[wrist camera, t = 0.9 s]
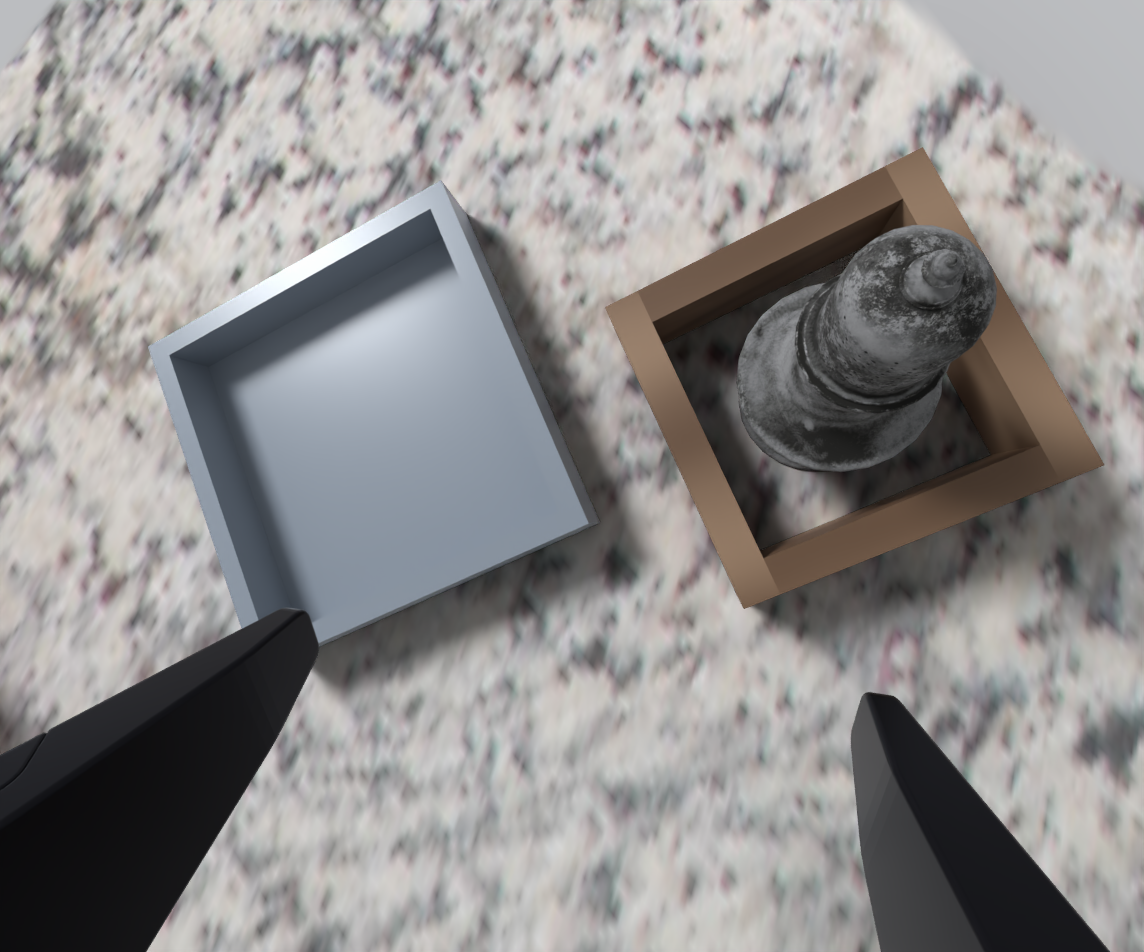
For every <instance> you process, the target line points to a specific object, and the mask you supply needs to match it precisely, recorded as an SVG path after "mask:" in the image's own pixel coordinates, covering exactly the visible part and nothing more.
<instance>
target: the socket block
mask: <svg viewBox="0 0 1144 952" xmlns="http://www.w3.org/2000/svg"><path fill="white" fill-rule="evenodd" d="M911 225H933V226H937V227H941V228H945V229H949V230H952V231H954V232H956V233H958V234H960V235H961V236H963V237H965V238H967V239H969V240H970V241H971V242H972V243H973V244H974V245H975V246H976V247H977V248H978V249H979V250H980V251H981V252H982V250H981V248H980V246H979V245H978V243H977V241H976V239H975V238H974V236H973V234H972V232H971V231H970V229H969V227H968V225H967V224H966V222H965V220H964V218H963V217H962V215H961V213H960V211H959V210H958V208H957V206H956V204H955V203H954V201H953V199H952V197H951V196H950V194H949V192H948V191H947V189H946V187H945V185H944V184H943V182H942V180H941V178H940V177H939V175H938V173H937V171H936V170H935V168H934V166H933V164H932V163H931V161H930V159H929V157H928V156H927V154H926V152H925V150H924V149H923V147H922V148H920V149H918V150H916V151H914V152H912V153H910V154H908V155H906V156H905V157H903V158H901V159H899V160H897V161H895V162H893V163H891V164H889V165H887V166H885V167H883V168H881V169H879V170H877V171H875V172H873V173H871V174H869V175H867V176H865V177H863V178H861V179H859V180H857V181H855V182H853V183H851V184H849V185H847V186H845V187H843V188H841V189H839V190H837V191H835V192H833V193H831V194H829V195H827V196H825V197H823V198H821V199H819V200H817V201H815V202H813V203H811V204H809V205H807V206H805V207H803V208H801V209H799V210H797V211H795V212H793V213H791V214H789V215H787V216H785V217H783V218H781V219H779V220H777V221H776V222H774V223H772V224H770V225H768V226H766V227H764V228H762V229H760V230H758V231H756V232H754V233H752V234H750V235H748V236H746V237H744V238H742V239H740V240H738V241H736V242H734V243H732V244H730V245H728V246H726V247H724V248H722V249H720V250H718V251H716V252H714V253H712V254H710V255H708V256H706V257H704V258H702V259H700V260H698V261H696V262H694V263H692V264H690V265H688V266H686V267H684V268H682V269H680V270H678V271H676V272H674V273H672V274H670V275H668V276H666V277H664V278H662V279H660V280H658V281H656V282H654V283H652V284H650V285H648V286H646V287H645V288H643V289H641V290H639V291H637V292H635V293H633V294H631V295H629V296H627V297H625V298H623V299H621V300H619V301H617V302H615V303H613V304H611V305H609V306H607V307H605V308H606V310H607V313H608V315H609V317H610V320H611V322H612V324H613V326H614V329H615V331H616V333H617V335H618V338H619V340H620V342H621V344H622V346H623V349H624V351H625V353H626V355H627V357H628V359H629V362H630V364H631V366H632V368H633V370H634V372H635V375H636V377H637V379H638V381H639V383H640V385H641V388H642V390H643V392H644V394H645V396H646V399H647V401H648V403H649V405H650V407H651V409H652V412H653V414H654V416H655V418H656V420H657V422H658V425H659V427H660V429H661V431H662V433H663V435H664V438H665V440H666V442H667V444H668V446H669V449H670V451H671V453H672V455H673V457H674V459H675V462H676V464H677V466H678V468H679V470H680V472H681V475H682V477H683V479H684V481H685V483H686V485H687V488H688V490H689V492H690V494H691V496H692V499H693V501H694V503H695V505H696V507H697V509H698V512H699V514H700V516H701V518H702V520H703V522H704V525H705V527H706V529H707V531H708V533H709V535H710V538H711V540H712V542H713V544H714V546H715V549H716V551H717V553H718V555H719V557H720V559H721V562H722V564H723V566H724V568H725V570H726V572H727V575H728V577H729V579H730V581H731V583H732V585H733V588H734V590H735V592H736V594H737V596H738V598H739V600H740V602H741V604H742V606H743V608H744V609H745V608H748V607H750V606H753V605H755V604H758V603H760V602H763V601H765V600H768V599H770V598H773V597H775V596H778V595H780V594H783V593H785V592H788V591H790V590H793V589H795V588H798V587H800V586H803V585H805V584H808V583H810V582H813V581H815V580H818V579H820V578H823V577H825V576H828V575H830V574H833V573H835V572H838V571H840V570H843V569H845V568H848V567H850V566H853V565H855V564H858V563H860V562H863V561H865V560H868V559H870V558H873V557H875V556H878V555H880V554H883V553H885V552H888V551H890V550H893V549H895V548H898V547H900V546H903V545H905V544H908V543H910V542H913V541H915V540H918V539H920V538H923V537H925V536H928V535H931V534H933V533H936V532H938V531H941V530H943V529H946V528H948V527H951V526H953V525H956V524H958V523H961V522H963V521H966V520H968V519H971V518H973V517H976V516H978V515H981V514H983V513H986V512H988V511H991V510H993V509H996V508H998V507H1001V506H1003V505H1006V504H1008V503H1011V502H1013V501H1016V500H1018V499H1021V498H1023V497H1026V496H1028V495H1031V494H1033V493H1036V492H1038V491H1041V490H1043V489H1046V488H1048V487H1051V486H1053V485H1056V484H1058V483H1061V482H1063V481H1066V480H1068V479H1071V478H1073V477H1076V476H1078V475H1081V474H1083V473H1086V472H1088V471H1091V470H1093V469H1096V468H1098V467H1101V466H1103V465H1104V463H1103V462H1102V460H1101V458H1100V456H1099V455H1098V453H1097V451H1096V449H1095V448H1094V446H1093V444H1092V442H1091V441H1090V439H1089V437H1088V435H1087V434H1086V432H1085V430H1084V428H1083V427H1082V425H1081V423H1080V421H1079V420H1078V418H1077V416H1076V414H1075V413H1074V411H1073V409H1072V407H1071V406H1070V404H1069V402H1068V400H1067V399H1066V397H1065V395H1064V393H1063V392H1062V390H1061V388H1060V386H1059V385H1058V383H1057V381H1056V379H1055V378H1054V376H1053V374H1052V372H1051V371H1050V369H1049V367H1048V365H1047V364H1046V362H1045V360H1044V358H1043V357H1042V355H1041V353H1040V351H1039V350H1038V348H1037V346H1036V344H1035V343H1034V341H1033V339H1032V337H1031V336H1030V334H1029V332H1028V330H1027V329H1026V327H1025V325H1024V323H1023V322H1022V320H1021V318H1020V316H1019V315H1018V313H1017V311H1016V309H1015V308H1014V306H1013V304H1012V302H1011V301H1010V299H1009V297H1008V295H1007V294H1006V292H1005V290H1004V288H1003V287H1002V285H1001V283H1000V281H999V280H998V278H997V276H996V274H995V273H994V271H993V273H994V277H995V282H996V286H997V294H996V307H995V309H994V312H993V315H992V318H991V320H990V323H989V325H988V326H987V328H986V330H985V331H984V332H983V334H982V335H981V336H980V338H979V339H978V340H977V342H976V343H975V345H974V346H973V347H971V348H970V349H969V350H968V351H966V352H965V353H964V354H962V355H961V356H960V357H959V358H957V359H956V360H954V361H952V362H951V363H950V365H949V368H948V370H947V372H946V373H947V375H948V377H949V379H950V381H951V383H952V384H953V386H954V388H955V390H956V392H957V394H958V396H959V397H960V399H961V401H962V403H963V405H964V407H965V408H966V410H967V412H968V414H969V416H970V418H971V419H972V421H973V423H974V425H975V427H976V429H977V430H978V432H979V434H980V436H981V438H982V440H983V442H984V443H985V445H986V447H987V449H988V451H989V453H990V454H991V455H990V456H987V457H985V458H982V459H980V460H978V461H975V462H973V463H970V464H968V465H965V466H963V467H961V468H958V469H956V470H953V471H951V472H949V473H946V474H944V475H941V476H939V477H936V478H934V479H932V480H929V481H927V482H924V483H922V484H920V485H917V486H915V487H912V488H910V489H907V490H905V491H903V492H900V493H898V494H895V495H893V496H891V497H888V498H886V499H883V500H881V501H879V502H876V503H874V504H871V505H869V506H866V507H864V508H862V509H859V510H857V511H854V512H852V513H850V514H847V515H845V516H842V517H840V518H837V519H835V520H833V521H830V522H828V523H825V524H823V525H821V526H818V527H816V528H813V529H811V530H808V531H806V532H804V533H801V534H799V535H796V536H794V537H792V538H789V539H787V540H784V541H782V542H779V543H777V544H775V545H772V546H770V547H767V548H765V549H763V550H759V548H758V546H757V544H756V542H755V540H754V537H753V535H752V533H751V531H750V529H749V527H748V525H747V523H746V520H745V518H744V516H743V514H742V512H741V510H740V508H739V506H738V503H737V501H736V499H735V497H734V495H733V493H732V491H731V489H730V487H729V484H728V482H727V480H726V478H725V476H724V474H723V472H722V470H721V467H720V465H719V463H718V461H717V459H716V457H715V455H714V453H713V450H712V448H711V446H710V444H709V442H708V440H707V438H706V436H705V433H704V431H703V429H702V427H701V425H700V423H699V421H698V419H697V416H696V414H695V412H694V410H693V408H692V406H691V404H690V402H689V399H688V397H687V395H686V393H685V391H684V389H683V387H682V385H681V382H680V380H679V378H678V376H677V374H676V372H675V370H674V368H673V365H672V363H671V361H670V359H669V357H668V355H667V353H666V351H665V349H664V346H663V344H665V343H667V342H669V341H671V340H673V339H675V338H677V337H679V336H681V335H683V334H685V333H688V332H690V331H692V330H694V329H696V328H698V327H700V326H702V325H704V324H706V323H708V322H710V321H712V320H714V319H716V318H718V317H721V316H723V315H725V314H727V313H729V312H731V311H733V310H735V309H737V308H739V307H741V306H743V305H745V304H747V303H749V302H751V301H754V300H756V299H758V298H760V297H762V296H764V295H766V294H768V293H770V292H772V291H774V290H776V289H778V288H780V287H782V286H784V285H787V284H789V283H791V282H793V281H795V280H797V279H799V278H801V277H803V276H805V275H807V274H809V273H811V272H813V271H815V270H817V269H820V268H822V267H824V266H826V265H828V264H830V263H832V262H834V261H836V260H838V259H840V258H842V257H844V256H846V255H848V254H850V253H853V252H855V251H857V250H859V249H861V248H863V247H865V246H866V245H867V244H868V243H869V242H871V241H872V240H874V239H875V238H877V237H879V236H881V235H883V234H885V233H887V232H889V231H891V230H893V229H897V228H902V227H906V226H911ZM982 253H983V252H982ZM983 254H984V253H983ZM984 256H985V255H984ZM987 261H988V260H987ZM991 268H992V267H991Z"/></svg>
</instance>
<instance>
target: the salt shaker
mask: <svg viewBox="0 0 1144 952" xmlns="http://www.w3.org/2000/svg"><path fill="white" fill-rule="evenodd" d="M996 294H997V286H996V282H995V277H994V273H993V269H992V268H991V266H990V264H989V262H988V261H987V259H986V257H985V256H984V254H983V253H982V252H981V251H980V250H979V249H978V248H977V247H976V246H975V245H974V244H973V243H972V242H971V241H970V240H969V239H967V238H965V237H963V236H961V235H960V234H958V233H956V232H954V231H952V230H949V229H945V228H941V227H937V226H933V225H911V226H906V227H902V228H897V229H893V230H891V231H889V232H887V233H885V234H883V235H881V236H879V237H877V238H875V239H874V240H872V241H871V242H869V243H868V244H867V245H866V246H865V247H863V248H862V249H861V250H860V251H859V252H857V253H856V254H855V255H854V257H853V258H852V260H851V261H850V262H849V264H848V265H847V267H846V268H845V269H844V271H843V273H842V274H840V275H837V276H835V277H833V278H831V279H829V280H828V281H827V282H826V283H821V284H817V285H812V286H808V287H804V288H802V289H800V290H798V291H796V292H794V293H792V294H790V295H788V296H786V297H784V298H782V299H781V300H779V301H778V302H777V303H776V304H775V305H773V306H772V307H771V308H770V309H769V310H767V311H766V312H765V313H764V314H763V315H762V316H761V317H760V319H759V320H758V321H757V323H756V324H755V326H754V327H753V328H752V330H751V331H750V333H749V334H748V336H747V338H746V341H745V343H744V346H743V349H742V351H741V354H740V357H739V361H738V372H737V382H736V383H737V388H738V394H739V407H740V412H741V418H742V422H743V424H744V426H745V428H746V430H747V432H748V434H749V436H750V438H751V439H752V440H753V441H754V442H755V443H756V445H757V446H758V447H759V448H760V449H761V450H762V451H763V452H764V453H766V454H767V455H769V456H770V457H772V458H773V459H775V460H776V461H778V462H779V463H782V464H785V465H788V466H791V467H794V468H796V469H804V470H815V471H820V470H822V471H834V472H845V471H851V470H858V469H864V468H869V467H872V466H874V465H876V464H879V463H881V462H883V461H886V460H888V459H890V458H893V457H895V456H896V455H897V454H899V453H900V452H901V451H902V450H904V449H905V448H906V447H908V446H909V445H910V444H911V443H913V442H914V441H915V440H916V439H917V438H918V437H919V435H920V434H921V433H922V431H923V430H924V429H925V427H926V426H927V425H928V423H929V422H930V421H931V419H932V417H933V415H934V412H935V409H936V407H937V404H938V402H939V399H940V397H941V392H942V380H943V376H944V375H945V374H946V372H947V370H948V368H949V365H950V363H951V362H952V361H954V360H956V359H957V358H959V357H960V356H961V355H962V354H964V353H965V352H966V351H968V350H969V349H970V348H971V347H973V346H974V345H975V343H976V342H977V340H978V339H979V338H980V336H981V335H982V334H983V332H984V331H985V330H986V328H987V326H988V325H989V323H990V320H991V318H992V315H993V312H994V309H995V307H996Z"/></svg>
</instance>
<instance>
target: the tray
mask: <svg viewBox="0 0 1144 952" xmlns="http://www.w3.org/2000/svg"><path fill="white" fill-rule="evenodd" d="M148 348H149V351H150V354H151V357H152V360H153V363H154V366H155V369H156V372H157V375H158V378H159V381H160V384H161V387H162V390H163V393H164V396H165V399H166V402H167V405H168V408H169V411H170V414H171V417H172V420H173V423H174V426H175V429H176V432H177V435H178V438H179V441H180V444H181V447H182V450H183V453H184V456H185V459H186V462H187V465H188V468H189V471H190V474H191V477H192V480H193V483H194V486H195V489H196V492H197V495H198V498H199V501H200V504H201V508H202V511H203V514H204V517H205V520H206V523H207V526H208V529H209V532H210V535H211V538H212V541H213V544H214V547H215V550H216V553H217V556H218V559H219V562H220V565H221V568H222V571H223V574H224V577H225V580H226V583H227V586H228V589H229V592H230V595H231V598H232V601H233V604H234V607H235V610H236V613H237V616H238V619H239V622H240V625H241V628H244V627H246V626H248V625H250V624H252V623H254V622H256V621H258V620H259V619H261V618H263V617H265V616H267V615H269V614H271V613H273V612H275V611H277V610H279V609H281V608H286V607H288V608H295V609H302V610H305V611H306V612H307V613H308V614H309V616H310V618H311V621H312V624H313V627H314V630H315V633H316V637H317V640H318V643H319V647H320V646H322V645H324V644H327V643H329V642H331V641H333V640H336V639H338V638H340V637H342V636H345V635H347V634H349V633H351V632H354V631H356V630H358V629H361V628H363V627H365V626H367V625H370V624H372V623H374V622H376V621H379V620H381V619H383V618H385V617H388V616H390V615H392V614H395V613H397V612H399V611H401V610H404V609H406V608H408V607H410V606H413V605H415V604H417V603H419V602H422V601H424V600H426V599H428V598H431V597H433V596H435V595H438V594H440V593H442V592H444V591H447V590H449V589H451V588H453V587H456V586H458V585H460V584H462V583H465V582H467V581H469V580H472V579H474V578H476V577H478V576H481V575H483V574H485V573H487V572H490V571H492V570H494V569H496V568H499V567H501V566H503V565H506V564H508V563H510V562H512V561H515V560H517V559H519V558H521V557H524V556H526V555H528V554H530V553H533V552H535V551H537V550H539V549H542V548H544V547H546V546H549V545H551V544H553V543H555V542H558V541H560V540H562V539H564V538H567V537H569V536H571V535H573V534H576V533H578V532H580V531H583V530H585V529H587V528H589V527H592V526H594V525H596V524H598V523H600V521H599V519H598V517H597V514H596V512H595V510H594V507H593V505H592V503H591V500H590V498H589V496H588V494H587V491H586V489H585V487H584V484H583V482H582V480H581V477H580V475H579V473H578V470H577V468H576V466H575V464H574V461H573V459H572V457H571V454H570V452H569V450H568V447H567V445H566V443H565V440H564V438H563V436H562V434H561V431H560V429H559V427H558V424H557V422H556V420H555V417H554V415H553V413H552V410H551V408H550V406H549V404H548V401H547V399H546V397H545V394H544V392H543V390H542V387H541V385H540V383H539V380H538V378H537V376H536V374H535V371H534V369H533V367H532V364H531V362H530V360H529V357H528V355H527V353H526V350H525V348H524V346H523V344H522V341H521V339H520V337H519V334H518V332H517V330H516V327H515V325H514V323H513V320H512V318H511V316H510V314H509V311H508V309H507V307H506V304H505V302H504V300H503V297H502V295H501V293H500V290H499V288H498V286H497V284H496V281H495V279H494V277H493V274H492V272H491V270H490V267H489V265H488V263H487V260H486V258H485V256H484V254H483V251H482V249H481V247H480V244H479V242H478V240H477V237H476V235H475V233H474V230H473V228H472V226H471V224H470V221H469V219H468V217H467V214H466V212H465V211H464V210H463V209H462V207H461V206H460V205H459V203H458V202H457V201H456V199H455V198H454V197H453V195H452V194H451V193H450V191H449V190H448V189H447V188H446V186H445V185H444V184H443V182H442V181H441V180H440V181H439V182H437V183H435V184H433V185H432V186H430V187H428V188H426V189H425V190H423V191H421V192H419V193H418V194H416V195H414V196H412V197H411V198H409V199H407V200H405V201H404V202H402V203H400V204H398V205H396V206H395V207H393V208H391V209H389V210H388V211H386V212H384V213H382V214H381V215H379V216H377V217H375V218H374V219H372V220H370V221H368V222H367V223H365V224H363V225H361V226H360V227H358V228H356V229H354V230H352V231H351V232H349V233H347V234H345V235H344V236H342V237H340V238H338V239H337V240H335V241H333V242H331V243H330V244H328V245H326V246H324V247H323V248H321V249H319V250H317V251H316V252H314V253H312V254H310V255H308V256H307V257H305V258H303V259H301V260H300V261H298V262H296V263H294V264H293V265H291V266H289V267H287V268H286V269H284V270H282V271H280V272H279V273H277V274H275V275H273V276H272V277H270V278H268V279H266V280H264V281H263V282H261V283H259V284H257V285H256V286H254V287H252V288H250V289H249V290H247V291H245V292H243V293H242V294H240V295H238V296H236V297H235V298H233V299H231V300H229V301H228V302H226V303H224V304H222V305H221V306H219V307H217V308H215V309H213V310H212V311H210V312H208V313H206V314H205V315H203V316H201V317H199V318H198V319H196V320H194V321H192V322H191V323H189V324H187V325H185V326H184V327H182V328H180V329H178V330H177V331H175V332H173V333H171V334H169V335H168V336H166V337H164V338H162V339H161V340H159V341H157V342H155V343H154V344H152V345H150V346H148Z"/></svg>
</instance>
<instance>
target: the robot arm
mask: <svg viewBox="0 0 1144 952" xmlns="http://www.w3.org/2000/svg"><path fill="white" fill-rule="evenodd" d="M318 652H319V643H318V640H317V637H316V633H315V630H314V627H313V624H312V621H311V618H310V616H309V614H308V613H307V612H306V611H305V610H302V609H295V608H288V607H286V608H281V609H279V610H277V611H275V612H273V613H271V614H269V615H267V616H265V617H263V618H261V619H259V620H258V621H256V622H254V623H252V624H250V625H248V626H246V627H244V628H242V629H240V630H238V631H237V632H235V633H233V634H231V635H229V636H227V637H225V638H223V639H221V640H219V641H217V642H216V643H214V644H212V645H210V646H208V647H206V648H204V649H202V650H200V651H198V652H196V653H195V654H193V655H191V656H189V657H187V658H185V659H183V660H181V661H179V662H177V663H175V664H174V665H172V666H170V667H168V668H166V669H164V670H162V671H160V672H158V673H156V674H154V675H153V676H151V677H149V678H147V679H145V680H143V681H141V682H139V683H137V684H135V685H133V686H132V687H130V688H128V689H126V690H124V691H122V692H120V693H118V694H116V695H114V696H112V697H111V698H109V699H107V700H105V701H103V702H101V703H99V704H97V705H95V706H93V707H91V708H90V709H88V710H86V711H84V712H82V713H80V714H78V715H76V716H74V717H72V718H70V719H69V720H67V721H65V722H63V723H61V724H59V725H57V726H55V727H53V728H51V729H50V730H49V731H48V733H42V734H40V735H38V736H36V737H34V738H32V739H30V740H28V741H27V742H25V743H23V744H21V745H19V746H17V747H15V748H13V749H11V750H9V751H7V752H5V753H3V754H1V755H0V952H146V951H147V950H148V948H149V947H150V945H151V943H152V942H153V940H154V938H155V937H156V935H157V933H158V932H159V930H160V929H161V927H162V925H163V924H164V922H165V920H166V919H167V917H168V916H169V914H170V912H171V911H172V909H173V907H174V906H175V904H176V903H177V901H178V899H179V898H180V896H181V894H182V893H183V891H184V890H185V888H186V886H187V885H188V883H189V881H190V880H191V878H192V876H193V875H194V873H195V872H196V870H197V868H198V867H199V865H200V863H201V862H202V860H203V859H204V857H205V855H206V854H207V852H208V850H209V849H210V847H211V846H212V844H213V842H214V841H215V839H216V837H217V836H218V834H219V833H220V831H221V829H222V828H223V826H224V824H225V823H226V821H227V819H228V818H229V816H230V815H231V813H232V811H233V810H234V808H235V806H236V805H237V803H238V802H239V800H240V798H241V797H242V795H243V793H244V792H245V790H246V789H247V787H248V785H249V784H250V782H251V780H252V779H253V777H254V776H255V774H256V772H257V771H258V769H259V767H260V766H261V764H262V763H263V761H264V759H265V758H266V756H267V754H268V753H269V751H270V749H271V748H272V746H273V744H274V742H275V741H276V739H277V737H278V735H279V733H280V731H281V730H282V728H283V726H284V724H285V722H286V720H287V718H288V716H289V714H290V712H291V710H292V708H293V706H294V703H295V701H296V699H297V697H298V695H299V693H300V691H301V689H302V687H303V685H304V683H305V681H306V679H307V677H308V675H309V673H310V671H311V669H312V667H313V665H314V663H315V661H316V658H317V656H318ZM851 751H852V761H853V772H854V783H855V794H856V805H857V815H858V826H859V837H860V846H861V855H862V860H863V866H864V872H865V877H866V882H867V886H868V891H869V896H870V901H871V906H872V911H873V916H874V920H875V925H876V930H877V935H878V940H879V945H880V949H881V952H1110V951H1109V950H1108V949H1107V947H1106V946H1105V945H1104V944H1103V943H1102V941H1101V940H1100V939H1099V938H1098V937H1097V935H1096V934H1095V933H1094V932H1093V931H1092V929H1091V928H1090V927H1089V926H1088V925H1087V923H1086V922H1085V921H1084V920H1083V919H1082V917H1081V916H1080V915H1079V914H1078V913H1077V912H1076V910H1075V909H1074V908H1073V907H1072V906H1071V904H1070V903H1069V902H1068V901H1067V900H1066V898H1065V897H1064V896H1063V895H1062V894H1061V892H1060V891H1059V890H1058V889H1057V888H1056V886H1055V885H1054V884H1053V883H1052V882H1051V881H1050V879H1049V878H1048V877H1047V876H1046V875H1045V873H1044V872H1043V871H1042V870H1041V869H1040V867H1039V866H1038V865H1037V864H1036V863H1035V861H1034V860H1033V859H1032V858H1031V857H1030V855H1029V854H1028V853H1027V852H1026V851H1025V850H1024V848H1023V847H1022V846H1021V845H1020V844H1019V842H1018V841H1017V840H1016V839H1015V838H1014V836H1013V835H1012V834H1011V833H1010V832H1009V830H1008V829H1007V828H1006V827H1005V826H1004V824H1003V823H1002V822H1001V821H1000V820H999V819H998V817H997V816H996V815H995V814H994V813H993V811H992V810H991V809H990V808H989V807H988V805H987V804H986V803H985V802H984V801H983V799H982V798H981V797H980V796H979V795H978V793H977V792H976V791H975V790H974V789H973V787H972V786H971V785H970V784H969V783H968V782H967V780H966V779H965V778H964V777H963V776H962V774H961V773H960V772H959V771H958V770H957V768H956V767H955V766H954V765H953V764H952V762H951V761H950V760H949V759H948V758H947V756H946V755H945V754H944V753H943V752H942V751H941V749H940V748H939V747H938V746H937V745H936V743H935V742H934V741H933V740H932V739H931V737H930V736H929V735H928V734H927V733H926V731H925V730H924V729H923V728H922V727H921V725H920V724H919V723H918V722H917V721H916V720H915V718H914V717H913V716H912V715H911V714H910V712H909V711H908V710H907V709H906V708H905V706H904V705H903V704H902V703H901V702H900V701H899V700H898V699H897V698H896V697H894V696H891V695H885V694H878V693H871V692H867V693H865V694H864V695H863V696H862V698H861V700H860V704H859V707H858V710H857V714H856V717H855V721H854V724H853V727H852V732H851Z"/></svg>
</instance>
